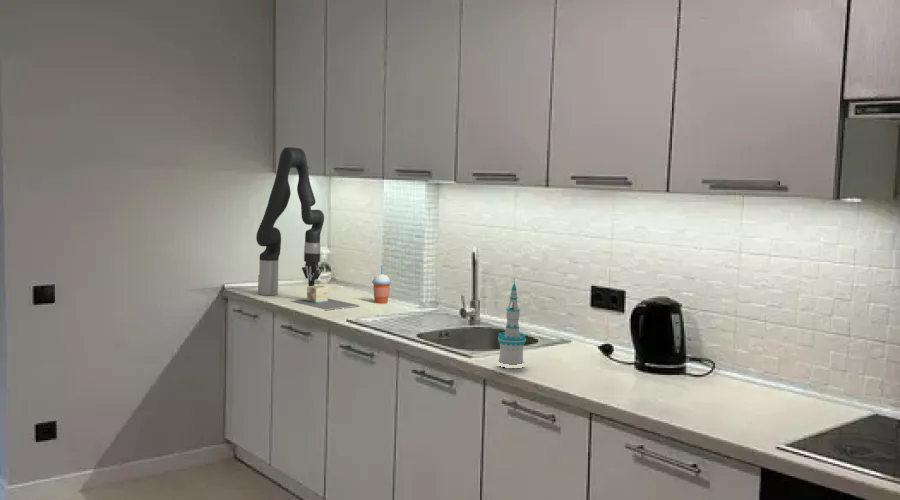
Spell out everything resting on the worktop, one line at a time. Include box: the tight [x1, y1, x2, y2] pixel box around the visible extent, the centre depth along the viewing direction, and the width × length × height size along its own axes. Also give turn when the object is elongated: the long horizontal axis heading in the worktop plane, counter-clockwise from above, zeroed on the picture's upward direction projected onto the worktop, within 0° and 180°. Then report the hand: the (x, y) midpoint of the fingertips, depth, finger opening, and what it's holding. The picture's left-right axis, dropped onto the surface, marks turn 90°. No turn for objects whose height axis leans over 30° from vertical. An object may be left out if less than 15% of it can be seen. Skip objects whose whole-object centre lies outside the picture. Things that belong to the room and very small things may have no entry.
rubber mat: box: [289, 298, 361, 312], centre depth 403 cm, size 27×20×1 cm
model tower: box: [497, 278, 527, 365], centre depth 292 cm, size 10×10×30 cm
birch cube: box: [306, 284, 329, 303], centre depth 407 cm, size 7×7×7 cm
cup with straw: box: [371, 265, 392, 305], centre depth 414 cm, size 9×9×18 cm
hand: (311, 288), depth 410 cm, fingers closed
